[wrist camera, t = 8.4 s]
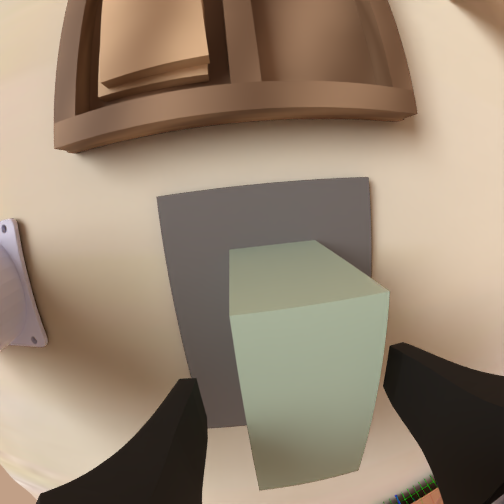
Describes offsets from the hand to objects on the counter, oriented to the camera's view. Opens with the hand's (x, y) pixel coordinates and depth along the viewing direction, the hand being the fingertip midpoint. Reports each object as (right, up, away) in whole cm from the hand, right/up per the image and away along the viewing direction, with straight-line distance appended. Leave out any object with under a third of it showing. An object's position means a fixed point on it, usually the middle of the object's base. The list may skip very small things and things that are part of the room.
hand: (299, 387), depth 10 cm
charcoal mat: (0, +1, +5) cm, 6 cm away
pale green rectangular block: (0, +1, +5) cm, 5 cm away
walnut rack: (-3, +17, +2) cm, 17 cm away
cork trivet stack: (-6, +16, +1) cm, 18 cm away
